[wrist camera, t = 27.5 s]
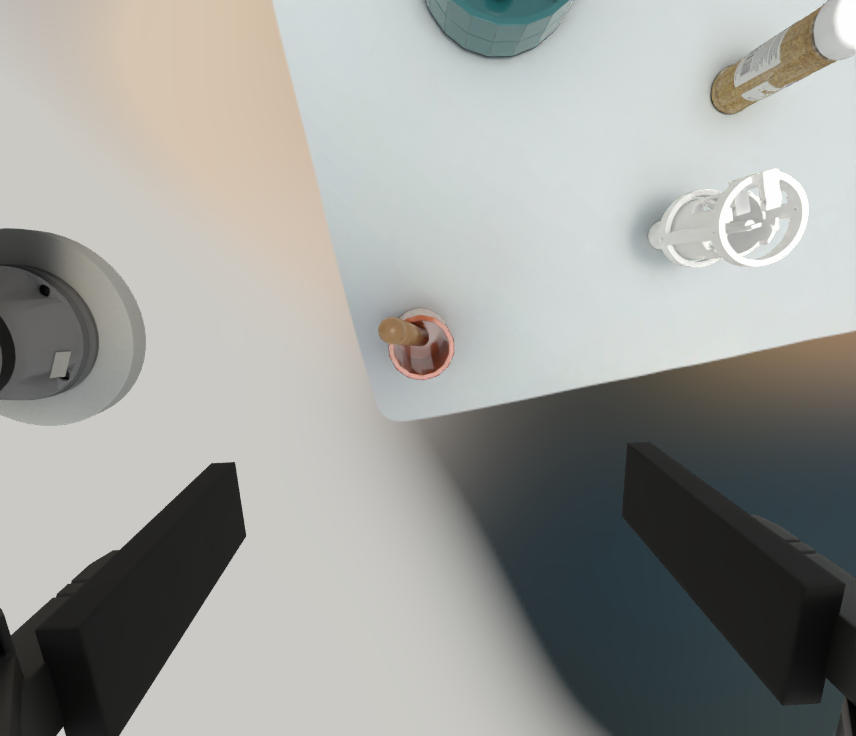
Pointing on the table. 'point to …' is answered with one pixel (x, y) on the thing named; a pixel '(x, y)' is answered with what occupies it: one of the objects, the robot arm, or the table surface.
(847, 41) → the sprinkles bottle
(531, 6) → the bowl
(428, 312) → the utensil pot
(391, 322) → the stick
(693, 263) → the white cylindrical cage
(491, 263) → the table surface
